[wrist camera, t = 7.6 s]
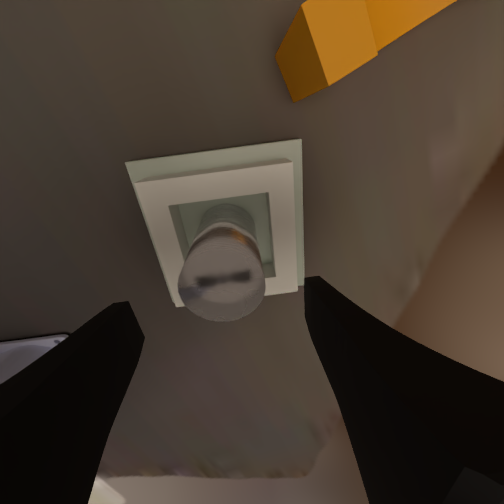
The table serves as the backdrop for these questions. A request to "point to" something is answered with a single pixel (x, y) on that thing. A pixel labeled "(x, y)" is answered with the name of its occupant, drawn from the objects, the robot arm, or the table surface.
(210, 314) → the grey cylinder
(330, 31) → the pipe clamp
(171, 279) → the socket
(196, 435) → the table surface
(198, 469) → the table surface
